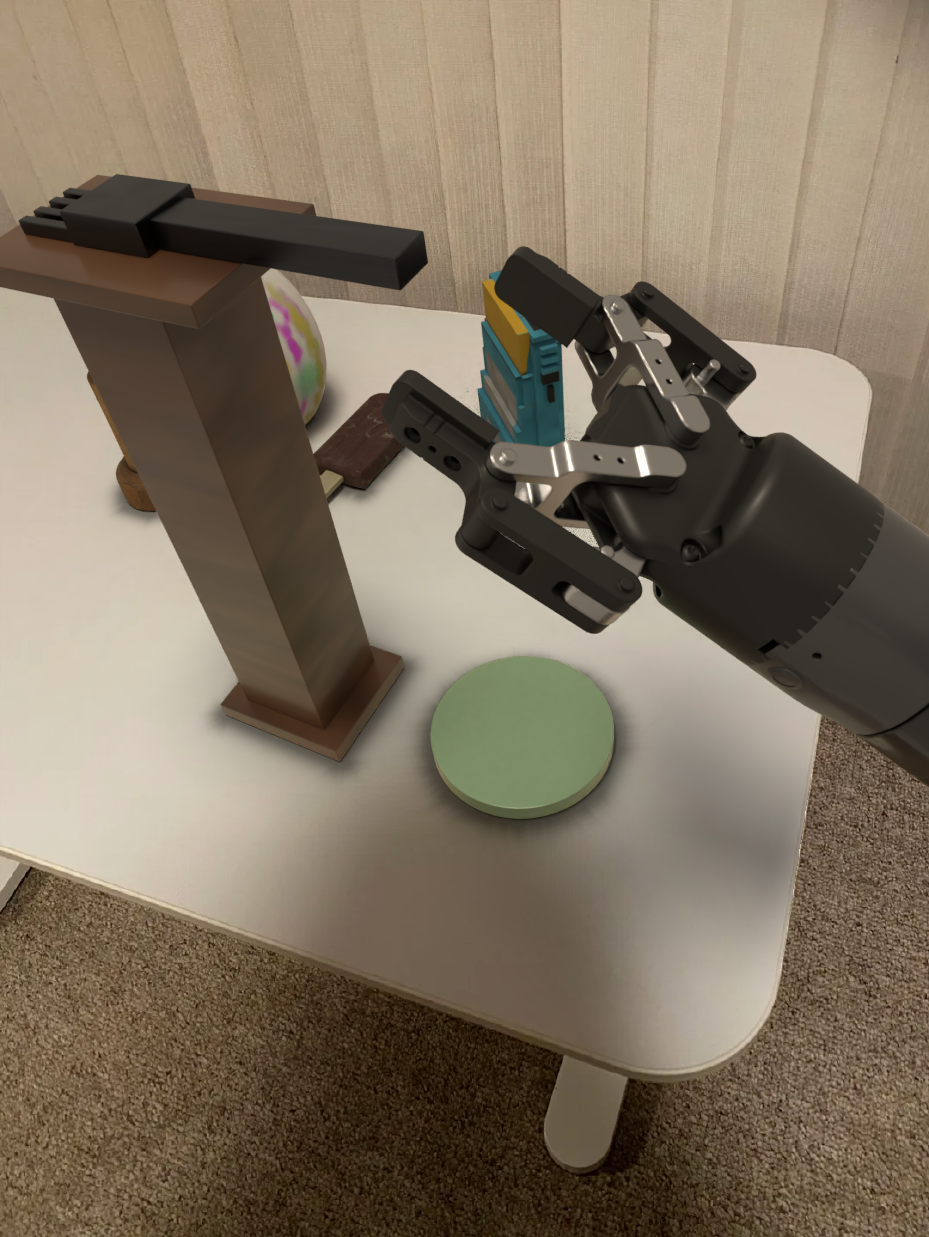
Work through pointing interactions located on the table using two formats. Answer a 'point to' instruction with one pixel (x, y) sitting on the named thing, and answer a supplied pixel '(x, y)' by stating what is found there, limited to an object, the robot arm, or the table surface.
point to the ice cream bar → (357, 448)
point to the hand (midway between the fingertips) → (452, 325)
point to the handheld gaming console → (519, 376)
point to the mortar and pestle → (125, 466)
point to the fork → (228, 232)
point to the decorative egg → (298, 341)
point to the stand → (223, 467)
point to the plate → (522, 737)
